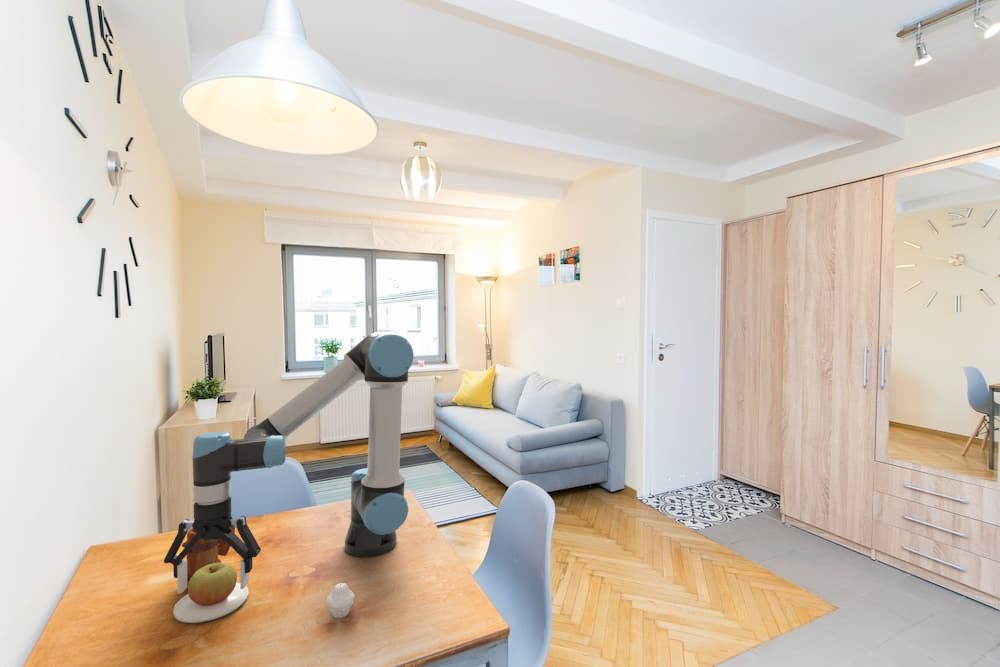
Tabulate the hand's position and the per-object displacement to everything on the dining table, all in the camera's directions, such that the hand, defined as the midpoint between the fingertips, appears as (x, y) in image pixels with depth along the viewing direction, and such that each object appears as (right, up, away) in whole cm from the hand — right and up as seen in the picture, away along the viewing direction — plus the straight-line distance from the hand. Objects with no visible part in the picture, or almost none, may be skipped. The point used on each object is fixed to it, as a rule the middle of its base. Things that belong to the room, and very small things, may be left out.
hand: (213, 588), depth 108 cm
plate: (0, -4, 0) cm, 4 cm away
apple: (0, -3, 0) cm, 3 cm away
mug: (-8, -4, +12) cm, 15 cm away
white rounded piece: (+31, -4, -3) cm, 31 cm away
